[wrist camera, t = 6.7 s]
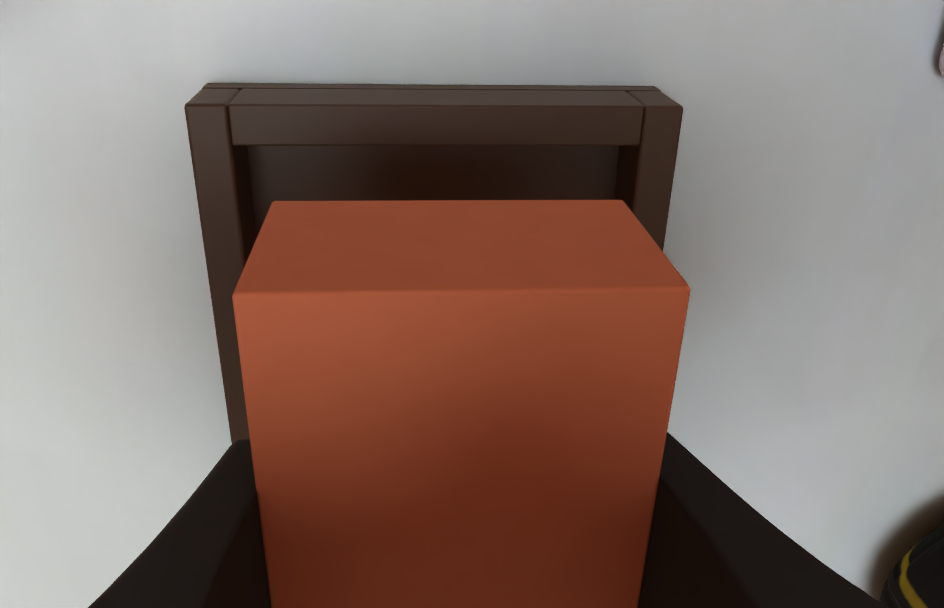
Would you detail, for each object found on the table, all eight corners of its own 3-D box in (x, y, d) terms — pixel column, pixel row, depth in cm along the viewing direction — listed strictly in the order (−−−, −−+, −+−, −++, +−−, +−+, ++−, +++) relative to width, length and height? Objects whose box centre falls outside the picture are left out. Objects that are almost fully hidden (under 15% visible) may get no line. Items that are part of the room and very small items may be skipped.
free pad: (623, 198, 11) (693, 286, 9) (576, 600, 15) (615, 750, 12) (272, 199, 11) (230, 293, 8) (309, 613, 14) (289, 772, 12)
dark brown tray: (655, 85, 17) (684, 106, 15) (579, 689, 26) (593, 746, 24) (206, 82, 16) (182, 103, 15) (285, 706, 25) (276, 767, 23)
